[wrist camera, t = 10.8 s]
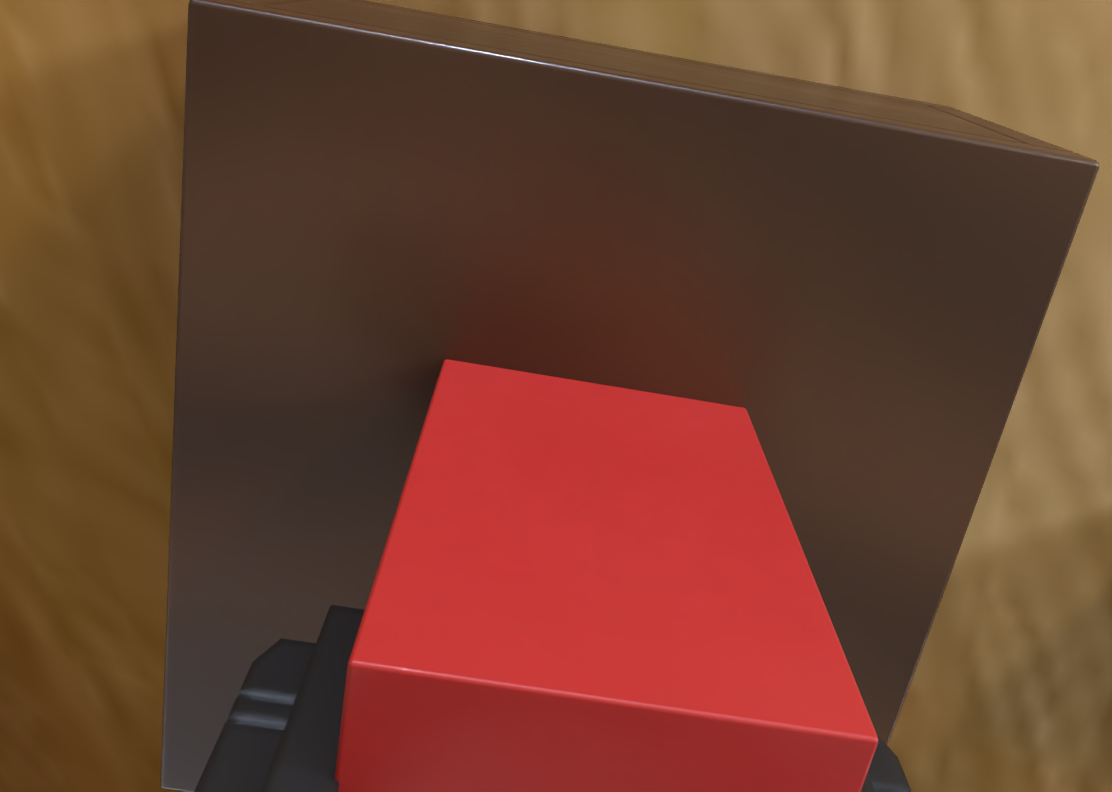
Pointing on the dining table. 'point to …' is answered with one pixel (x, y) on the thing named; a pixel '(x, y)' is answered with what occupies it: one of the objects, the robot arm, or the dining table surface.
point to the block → (594, 607)
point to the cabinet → (575, 303)
